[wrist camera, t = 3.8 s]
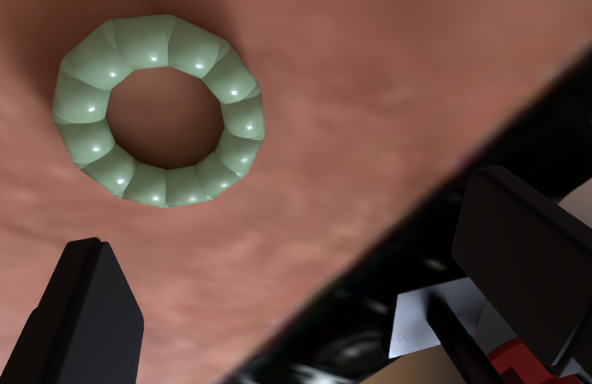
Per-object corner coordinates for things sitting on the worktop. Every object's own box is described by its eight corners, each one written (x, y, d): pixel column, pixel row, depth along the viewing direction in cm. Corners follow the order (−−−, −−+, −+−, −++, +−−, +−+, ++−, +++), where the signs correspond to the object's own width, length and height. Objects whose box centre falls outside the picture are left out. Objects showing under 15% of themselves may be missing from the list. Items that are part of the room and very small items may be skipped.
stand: (382, 347, 34) (469, 525, 24) (390, 282, 29) (505, 470, 19) (466, 325, 36) (584, 482, 25) (488, 259, 31) (646, 421, 20)
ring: (104, 206, 20) (96, 229, 18) (23, 24, 15) (2, 33, 13) (268, 177, 21) (274, 196, 20) (247, 3, 16) (254, 8, 15)
